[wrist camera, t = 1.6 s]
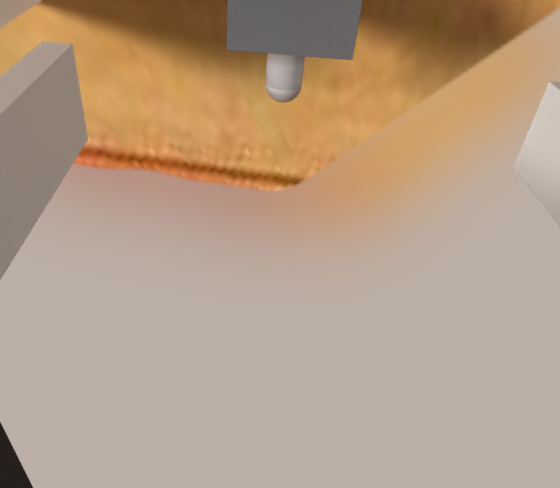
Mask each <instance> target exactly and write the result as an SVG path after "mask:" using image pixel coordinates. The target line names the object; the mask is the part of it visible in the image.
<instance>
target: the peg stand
mask: <svg viewBox="0 0 560 488" xmlns="http://www.w3.org/2000/svg"><path fill="white" fill-rule="evenodd" d="M304 59H305V56H295V55H282V54H269V53H267V66H266V81H265V86H266V90H267V92H268V94H269V95H270V97H271V98H273V99H274V100H276V101H278V102H289V101H291V100H293V99H294V98H296V97H297V95H298V94H299V92H300V90H301V85H302V76H303V67H304Z"/></svg>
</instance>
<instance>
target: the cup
mask: <svg viewBox="0 0 560 488" xmlns="http://www.w3.org/2000/svg"><path fill="white" fill-rule="evenodd" d="M40 1H42V0H0V28H2V27H3V26H5V25H6V24H8V23H9V22H11V21H12V20H14V19H15V18H17V17H18V16H20V15H21V14H23V13H24V12H26V11H27V10H29V9H30V8H32V7H33V6H34V5H36V4H37V3H39V2H40Z"/></svg>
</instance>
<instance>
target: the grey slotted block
mask: <svg viewBox="0 0 560 488" xmlns="http://www.w3.org/2000/svg"><path fill="white" fill-rule="evenodd" d="M361 6H362V0H227V50H231V51H244V52H256V53H269V54H282V55H295V56H308V57H320V58H333V59H346V60H352V59H353V53H354V47H355V41H356V35H357V29H358V24H359V18H360V12H361Z"/></svg>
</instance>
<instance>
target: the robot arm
mask: <svg viewBox="0 0 560 488" xmlns="http://www.w3.org/2000/svg"><path fill="white" fill-rule="evenodd" d="M87 140H88V137H87V131H86V125H85V119H84V112H83V106H82V100H81V94H80V88H79V82H78V76H77V69H76V63H75V57H74V51H73V45H72V44H68V43H56V42H43V41H42V42H41V43H40V44H39V45H38V46H36V47H35V48H34V49H33V50H32V51H30V52H29V53H28V54H27V55H26V56H24V57H23V58H22V59H21V60H20V61H19V62H17V63H16V64H15V65H14V66H13V67H11V68H10V69H9V70H8V71H7V72H5V73H4V74H3V75H2V76H1V77H0V279H1V278H2V276H3V275H4V273H5V271H6V270H7V268H8V266H9V265H10V263H11V262H12V260H13V258H14V257H15V255H16V254H17V252H18V251H19V249H20V247H21V246H22V244H23V243H24V241H25V239H26V238H27V236H28V234H29V233H30V231H31V229H32V228H33V226H34V225H35V223H36V222H37V220H38V218H39V217H40V215H41V214H42V212H43V210H44V209H45V207H46V206H47V204H48V202H49V201H50V199H51V198H52V196H53V194H54V193H55V191H56V190H57V188H58V186H59V185H60V183H61V182H62V180H63V178H64V177H65V175H66V174H67V172H68V170H69V169H70V167H71V166H72V164H73V162H74V161H75V159H76V158H77V156H78V154H79V153H80V151H81V150H82V148H83V146H84V145H85V143H86V142H87ZM513 168H514V169H515V171H516V172H517V173H518V174H519V176H520V177H521V178H522V180H523V181H524V182H525V183H526V185H527V186H528V187H529V188H530V190H531V191H532V192H533V193H534V195H535V196H536V197H537V199H538V200H539V201H540V202H541V204H542V205H543V206H544V207H545V208H546V210H547V211H548V212H549V214H550V215H551V216H552V218H553V219H554V220H555V221H556V223H557V224H558V225H559V226H560V82H549V83H548V86H547V88H546V91H545V93H544V96H543V98H542V100H541V103H540V105H539V108H538V110H537V112H536V114H535V117H534V119H533V122H532V124H531V126H530V129H529V131H528V134H527V136H526V138H525V141H524V143H523V146H522V148H521V150H520V153H519V155H518V157H517V160H516V162H515V165H514V167H513ZM0 488H33V487H32V485H31V483H30V481H29V479H28V477H27V475H26V473H25V471H24V469H23V467H22V465H21V463H20V461H19V459H18V457H17V455H16V453H15V451H14V449H13V447H12V445H11V443H10V441H9V439H8V437H7V435H6V433H5V431H4V429H3V427H2V425H1V423H0Z"/></svg>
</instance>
